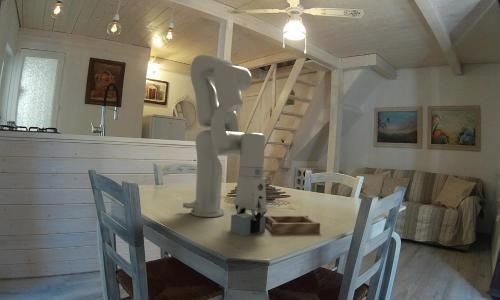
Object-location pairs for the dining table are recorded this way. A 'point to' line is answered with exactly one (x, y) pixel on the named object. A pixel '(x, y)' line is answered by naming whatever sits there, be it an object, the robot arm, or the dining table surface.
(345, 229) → the dining table surface
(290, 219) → the wooden tray
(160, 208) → the dining table surface
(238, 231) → the grey block
